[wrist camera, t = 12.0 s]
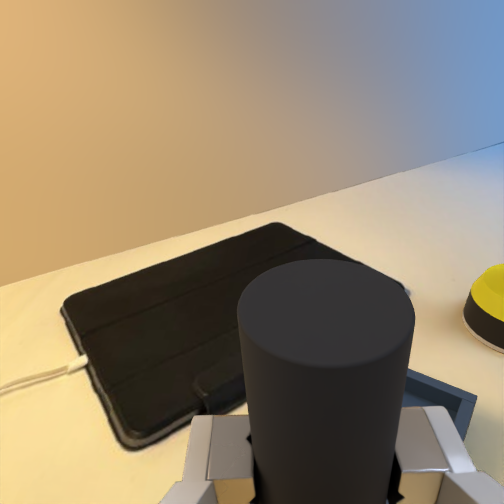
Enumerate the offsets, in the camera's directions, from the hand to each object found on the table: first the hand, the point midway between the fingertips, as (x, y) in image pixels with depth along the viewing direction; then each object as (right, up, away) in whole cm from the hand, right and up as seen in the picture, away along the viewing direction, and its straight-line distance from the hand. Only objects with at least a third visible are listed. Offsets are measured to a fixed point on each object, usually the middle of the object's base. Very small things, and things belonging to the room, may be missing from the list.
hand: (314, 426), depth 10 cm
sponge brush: (0, -7, +3) cm, 7 cm away
